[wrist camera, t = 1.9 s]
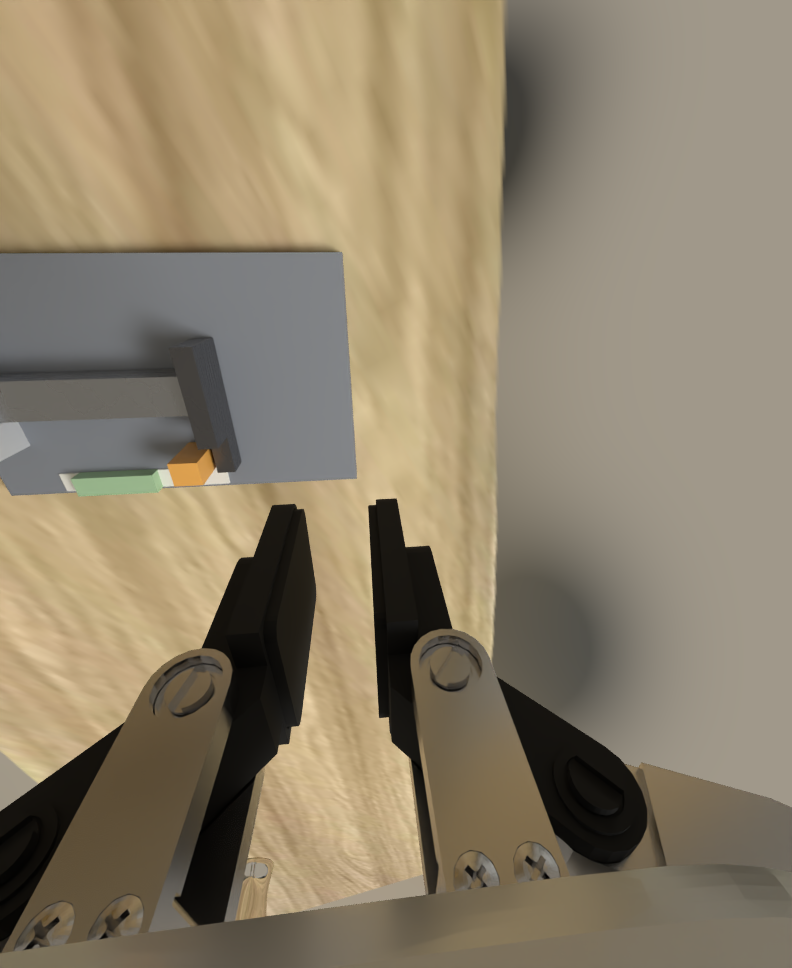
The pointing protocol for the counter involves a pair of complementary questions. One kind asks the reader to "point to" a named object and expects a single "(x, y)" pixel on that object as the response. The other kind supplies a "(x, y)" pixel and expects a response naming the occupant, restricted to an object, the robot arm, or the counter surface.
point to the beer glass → (255, 889)
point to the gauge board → (145, 345)
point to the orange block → (191, 466)
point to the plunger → (134, 397)
